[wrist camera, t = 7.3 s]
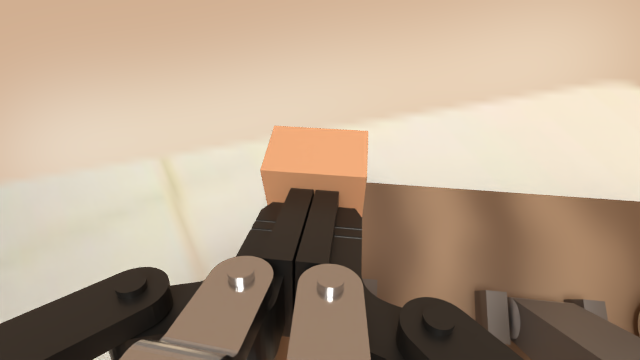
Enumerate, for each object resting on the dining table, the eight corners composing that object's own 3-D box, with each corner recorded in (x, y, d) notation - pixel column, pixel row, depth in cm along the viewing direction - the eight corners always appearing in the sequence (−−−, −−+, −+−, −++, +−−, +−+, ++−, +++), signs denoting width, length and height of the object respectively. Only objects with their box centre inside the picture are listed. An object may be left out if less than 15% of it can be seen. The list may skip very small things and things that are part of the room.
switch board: (259, 427, 19) (241, 454, 16) (290, 186, 24) (281, 167, 20) (737, 491, 17) (836, 539, 14) (670, 214, 21) (732, 198, 18)
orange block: (292, 321, 18) (260, 170, 10) (297, 286, 20) (274, 125, 11) (348, 327, 18) (366, 177, 9) (350, 291, 19) (368, 131, 11)
